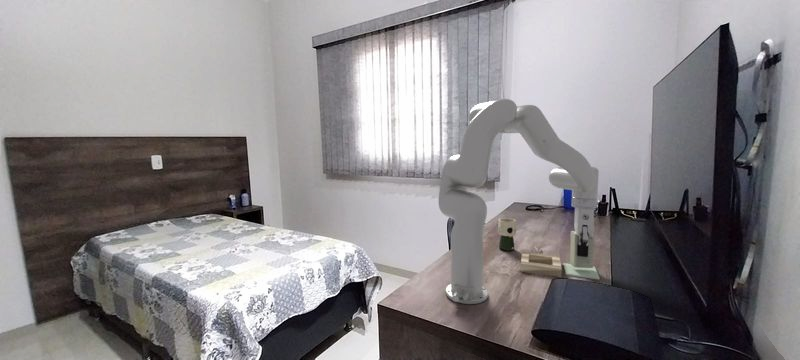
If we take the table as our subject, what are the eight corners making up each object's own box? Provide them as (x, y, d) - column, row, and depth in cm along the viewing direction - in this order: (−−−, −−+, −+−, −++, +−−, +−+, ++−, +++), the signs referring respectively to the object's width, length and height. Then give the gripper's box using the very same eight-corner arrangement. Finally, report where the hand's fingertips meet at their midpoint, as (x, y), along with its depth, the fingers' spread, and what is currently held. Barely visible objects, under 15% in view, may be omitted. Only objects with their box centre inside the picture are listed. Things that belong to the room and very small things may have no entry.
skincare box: (587, 263, 111) (589, 230, 110) (593, 268, 107) (595, 234, 106) (568, 263, 112) (570, 230, 111) (573, 267, 108) (575, 233, 106)
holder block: (561, 277, 106) (561, 268, 105) (520, 271, 111) (520, 263, 110) (558, 263, 117) (559, 255, 117) (521, 258, 123) (522, 251, 122)
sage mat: (599, 279, 103) (599, 277, 103) (565, 275, 107) (565, 273, 107) (594, 268, 112) (594, 266, 112) (563, 264, 116) (563, 262, 116)
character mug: (504, 254, 128) (505, 223, 126) (491, 249, 134) (491, 220, 132) (521, 249, 134) (522, 219, 132) (508, 244, 140) (508, 216, 138)
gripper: (601, 208, 98) (598, 263, 100) (592, 198, 113) (589, 247, 115) (574, 206, 100) (571, 260, 103) (569, 197, 116) (566, 244, 118)
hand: (581, 252), depth 109 cm, fingers closed on skincare box, 5 cm apart
